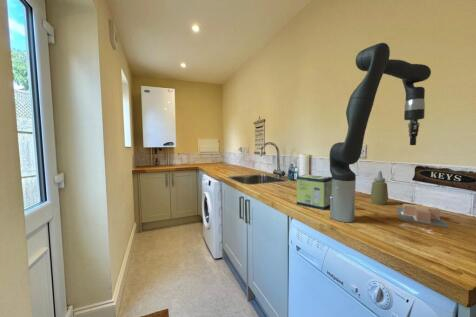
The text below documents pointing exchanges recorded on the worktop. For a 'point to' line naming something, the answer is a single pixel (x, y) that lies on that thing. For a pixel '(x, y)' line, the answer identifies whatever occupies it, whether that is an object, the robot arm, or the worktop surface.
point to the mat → (413, 219)
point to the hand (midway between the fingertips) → (412, 145)
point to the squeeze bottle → (379, 190)
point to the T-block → (421, 212)
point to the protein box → (314, 191)
